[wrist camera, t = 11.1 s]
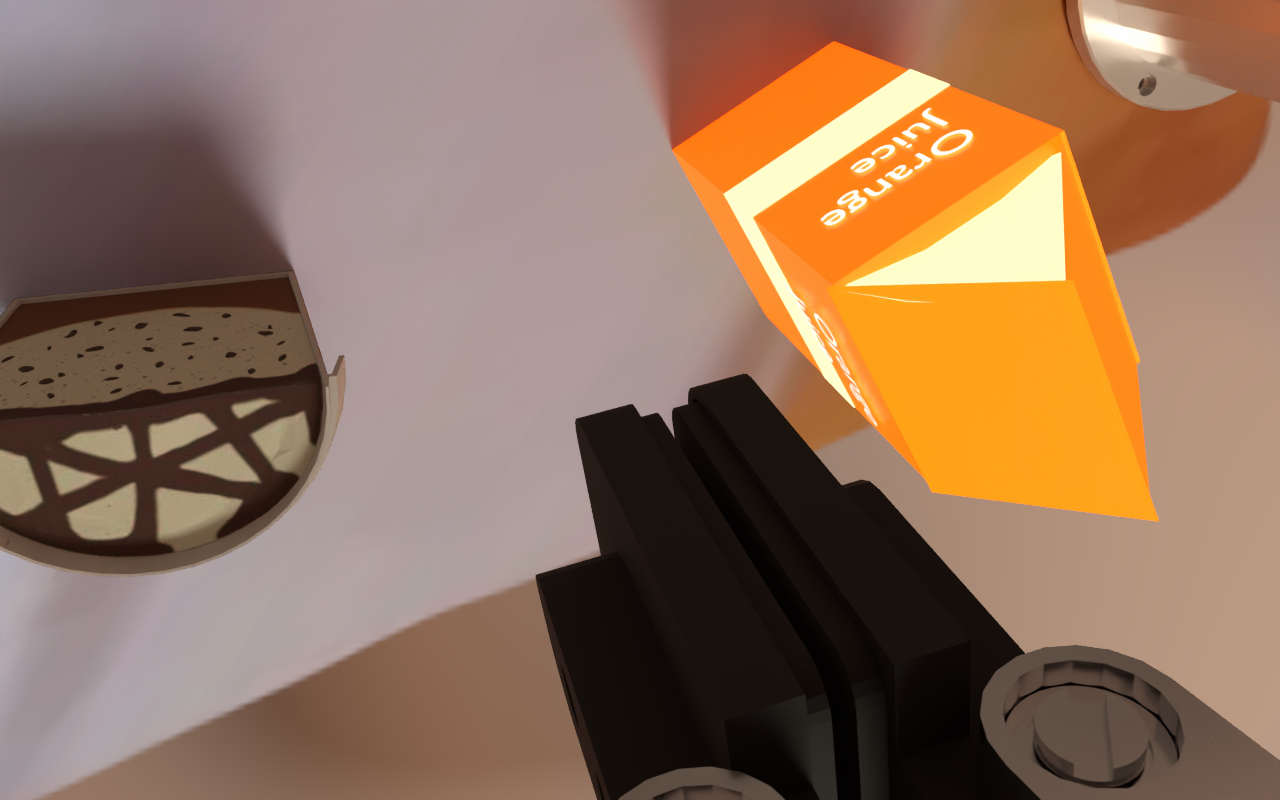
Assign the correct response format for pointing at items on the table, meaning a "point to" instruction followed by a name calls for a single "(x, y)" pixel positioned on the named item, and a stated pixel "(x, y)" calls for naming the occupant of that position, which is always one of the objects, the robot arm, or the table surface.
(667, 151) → the table surface
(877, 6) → the table surface
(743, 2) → the table surface
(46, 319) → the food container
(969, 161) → the orange juice
